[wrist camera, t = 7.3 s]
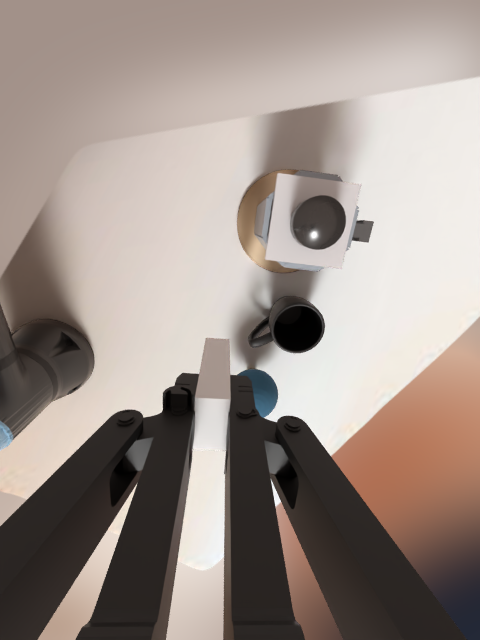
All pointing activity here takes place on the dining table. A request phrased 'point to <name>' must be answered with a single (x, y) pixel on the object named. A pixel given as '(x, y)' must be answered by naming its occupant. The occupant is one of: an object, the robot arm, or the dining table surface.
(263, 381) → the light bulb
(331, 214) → the plunger
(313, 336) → the mug
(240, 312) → the dining table surface
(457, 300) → the dining table surface
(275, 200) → the carafe
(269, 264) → the cork trivet
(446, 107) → the dining table surface
